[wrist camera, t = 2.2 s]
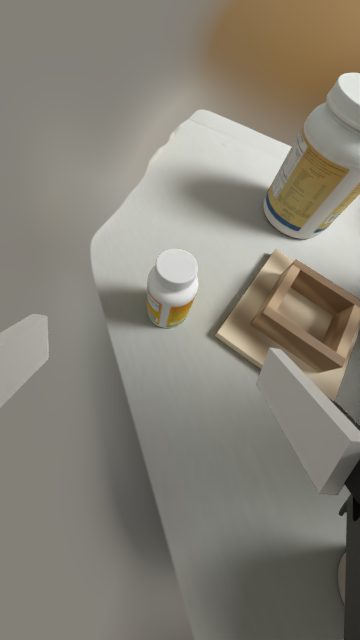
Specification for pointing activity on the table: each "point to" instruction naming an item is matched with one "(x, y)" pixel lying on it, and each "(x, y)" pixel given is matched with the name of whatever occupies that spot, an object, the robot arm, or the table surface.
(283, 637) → the table surface
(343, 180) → the supplement tub
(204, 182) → the table surface
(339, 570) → the coffee cup
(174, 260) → the supplement bottle
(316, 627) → the table surface
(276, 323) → the birch rack
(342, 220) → the table surface
